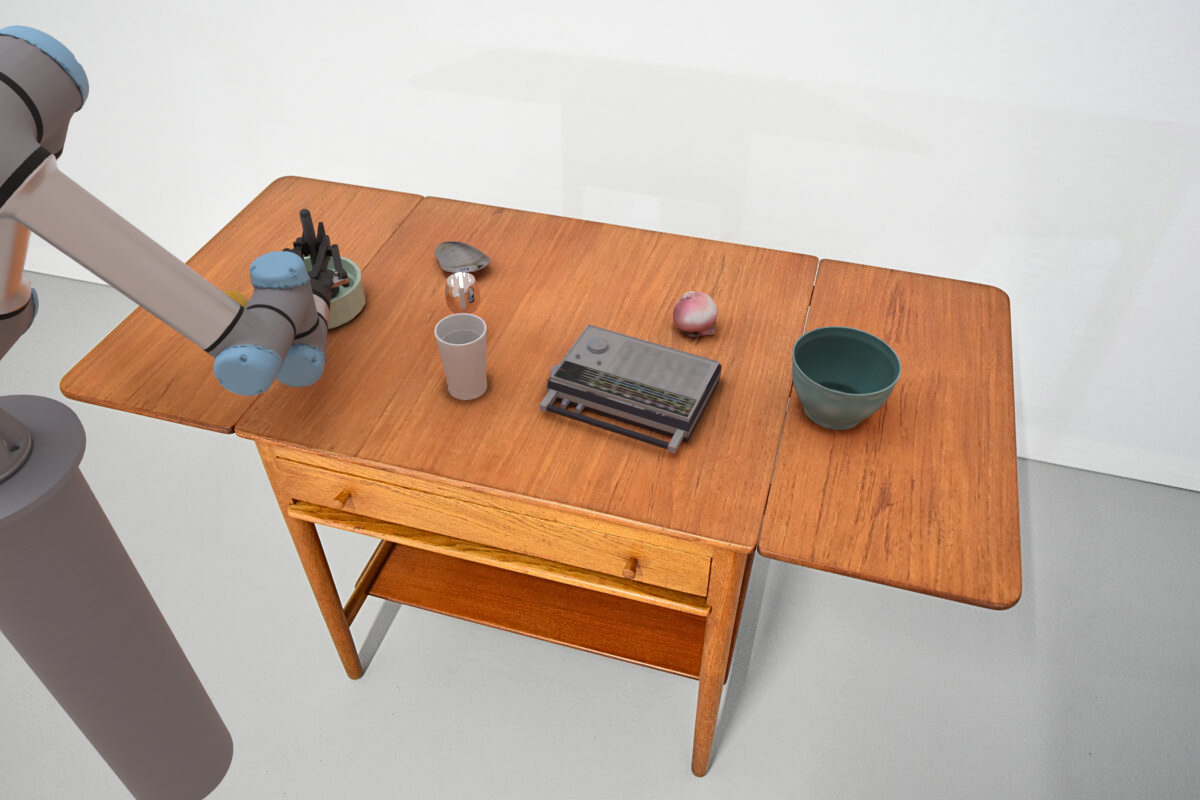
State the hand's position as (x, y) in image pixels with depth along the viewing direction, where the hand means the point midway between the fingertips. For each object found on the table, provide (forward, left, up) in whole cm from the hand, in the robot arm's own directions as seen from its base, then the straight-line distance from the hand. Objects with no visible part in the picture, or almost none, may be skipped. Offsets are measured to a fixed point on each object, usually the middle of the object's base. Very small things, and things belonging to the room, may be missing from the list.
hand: (314, 229), depth 158 cm
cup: (0, -40, -12) cm, 42 cm away
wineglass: (+8, -30, -12) cm, 34 cm away
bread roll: (-19, +5, -12) cm, 22 cm away
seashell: (+20, -13, -12) cm, 27 cm away
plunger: (-3, -4, -10) cm, 11 cm away
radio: (+17, -60, -12) cm, 64 cm away
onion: (+38, -56, -12) cm, 69 cm away
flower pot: (+38, -85, -12) cm, 94 cm away
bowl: (-5, -5, -12) cm, 14 cm away
